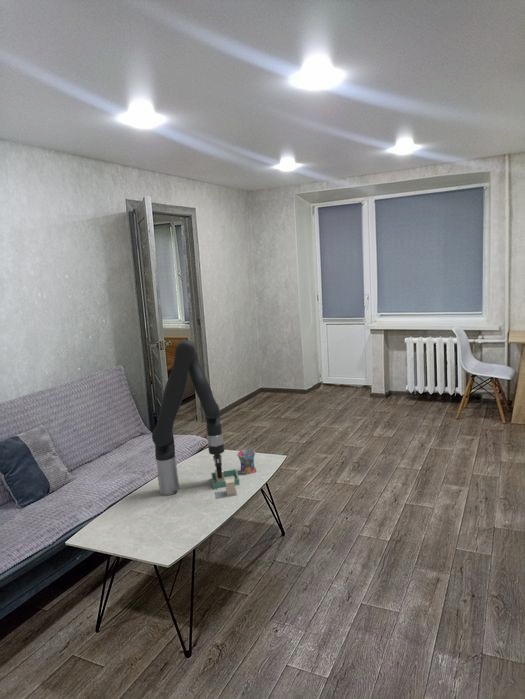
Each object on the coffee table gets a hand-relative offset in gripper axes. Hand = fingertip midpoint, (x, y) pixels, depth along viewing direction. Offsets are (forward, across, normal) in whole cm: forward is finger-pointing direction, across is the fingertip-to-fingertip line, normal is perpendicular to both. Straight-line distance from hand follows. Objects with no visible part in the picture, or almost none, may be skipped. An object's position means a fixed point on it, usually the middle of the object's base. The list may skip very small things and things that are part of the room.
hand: (219, 474), depth 247 cm
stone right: (+4, +14, +4) cm, 16 cm away
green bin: (+5, 0, +3) cm, 5 cm away
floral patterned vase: (+5, -10, +16) cm, 19 cm away
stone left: (+4, 0, 0) cm, 4 cm away
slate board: (+5, +14, +2) cm, 15 cm away
